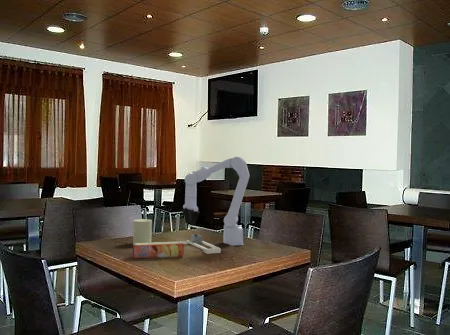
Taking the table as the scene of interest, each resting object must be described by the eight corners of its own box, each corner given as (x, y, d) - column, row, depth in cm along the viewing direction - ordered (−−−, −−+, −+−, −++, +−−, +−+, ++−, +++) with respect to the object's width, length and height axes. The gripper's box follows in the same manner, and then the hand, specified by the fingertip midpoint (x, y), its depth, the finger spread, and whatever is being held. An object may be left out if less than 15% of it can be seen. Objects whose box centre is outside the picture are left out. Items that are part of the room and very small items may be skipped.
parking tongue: (185, 243, 215) (185, 241, 215) (191, 245, 209) (191, 243, 209) (172, 243, 212) (172, 241, 212) (177, 246, 206) (177, 244, 206)
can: (147, 245, 206) (147, 220, 206) (129, 244, 208) (130, 220, 208) (154, 242, 215) (154, 218, 215) (137, 241, 217) (137, 217, 217)
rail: (198, 243, 215) (199, 239, 215) (220, 252, 194) (220, 248, 194) (186, 244, 212) (186, 240, 212) (207, 253, 190) (207, 249, 190)
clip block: (197, 242, 213) (198, 232, 213) (202, 244, 209) (202, 234, 209) (190, 243, 211) (190, 233, 211) (194, 244, 207) (194, 234, 207)
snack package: (132, 259, 176) (132, 243, 176) (132, 256, 183) (133, 240, 183) (183, 258, 181) (184, 242, 180) (182, 255, 187) (182, 240, 187)
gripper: (178, 196, 221) (177, 222, 221) (189, 198, 208) (188, 226, 209) (190, 196, 225) (190, 221, 225) (202, 198, 212) (201, 225, 212)
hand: (190, 224), depth 217 cm, fingers open, 7 cm apart
